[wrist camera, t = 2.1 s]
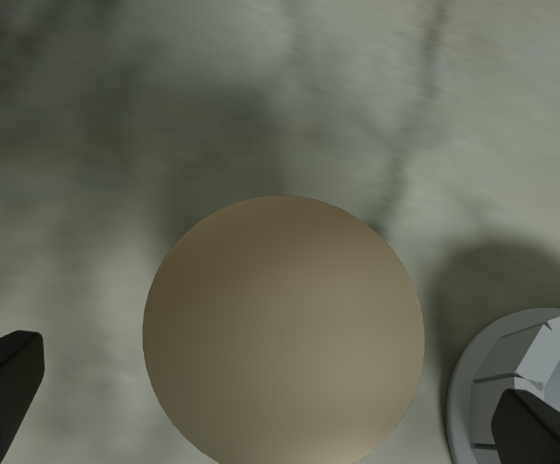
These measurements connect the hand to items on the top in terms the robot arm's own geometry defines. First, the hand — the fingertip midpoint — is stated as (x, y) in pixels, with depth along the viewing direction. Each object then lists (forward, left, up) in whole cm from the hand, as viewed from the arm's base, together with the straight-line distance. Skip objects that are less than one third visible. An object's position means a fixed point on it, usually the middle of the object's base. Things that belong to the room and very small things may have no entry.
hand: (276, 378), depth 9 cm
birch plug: (+1, 0, -9) cm, 9 cm away
